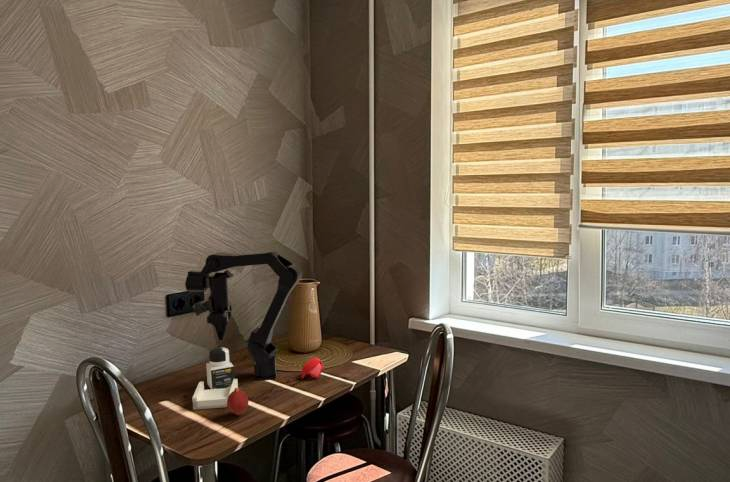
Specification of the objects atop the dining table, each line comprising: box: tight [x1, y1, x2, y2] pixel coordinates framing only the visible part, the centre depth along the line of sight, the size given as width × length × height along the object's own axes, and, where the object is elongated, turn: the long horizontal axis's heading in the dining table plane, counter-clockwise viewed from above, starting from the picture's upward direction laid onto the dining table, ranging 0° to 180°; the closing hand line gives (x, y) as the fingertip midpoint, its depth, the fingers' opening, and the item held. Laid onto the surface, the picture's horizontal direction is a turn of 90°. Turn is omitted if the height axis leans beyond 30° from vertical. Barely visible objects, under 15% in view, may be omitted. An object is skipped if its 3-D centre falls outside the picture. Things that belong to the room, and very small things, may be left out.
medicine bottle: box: [205, 347, 235, 389], centre depth 181 cm, size 7×7×12 cm
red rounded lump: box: [226, 387, 249, 416], centre depth 159 cm, size 6×6×8 cm
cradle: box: [192, 378, 239, 411], centre depth 171 cm, size 11×13×4 cm
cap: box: [301, 357, 324, 380], centre depth 187 cm, size 8×6×6 cm
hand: (221, 337), depth 190 cm, fingers open, 6 cm apart
